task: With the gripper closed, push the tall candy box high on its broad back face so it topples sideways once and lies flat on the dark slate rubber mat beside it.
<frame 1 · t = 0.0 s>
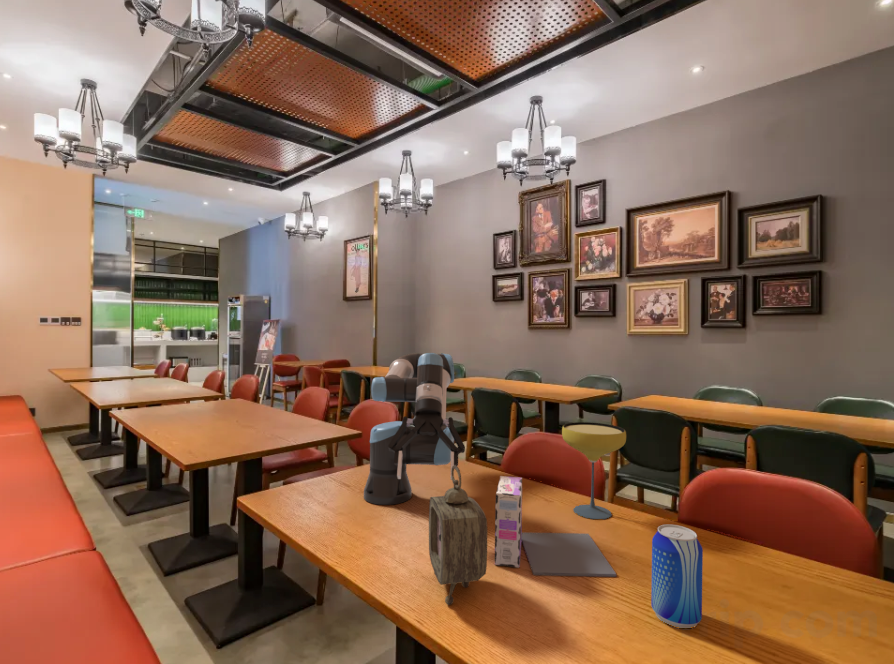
hand: (425, 477, 117), 15 cm above the table, tool tilted 35°, fingers open, 13 cm apart
mat: (563, 553, 109), on the table
candy box: (508, 553, 109), on the table
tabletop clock: (456, 589, 94), on the table
beer can: (675, 618, 85), on the table
cocktail glass: (592, 513, 135), on the table
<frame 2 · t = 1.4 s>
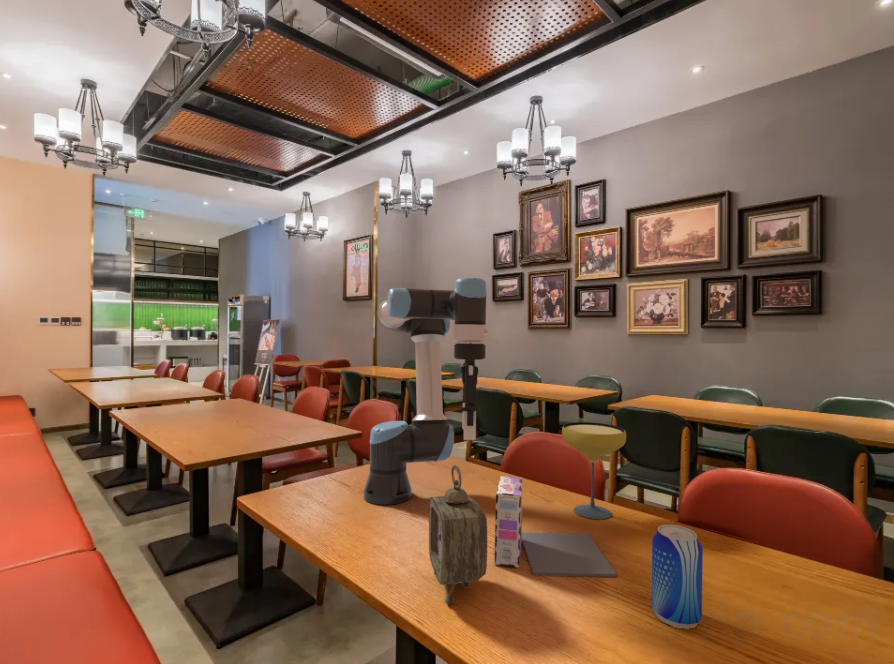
hand: (468, 434, 110), 28 cm above the table, tool pointing down, fingers open, 11 cm apart
nothing on the table moved.
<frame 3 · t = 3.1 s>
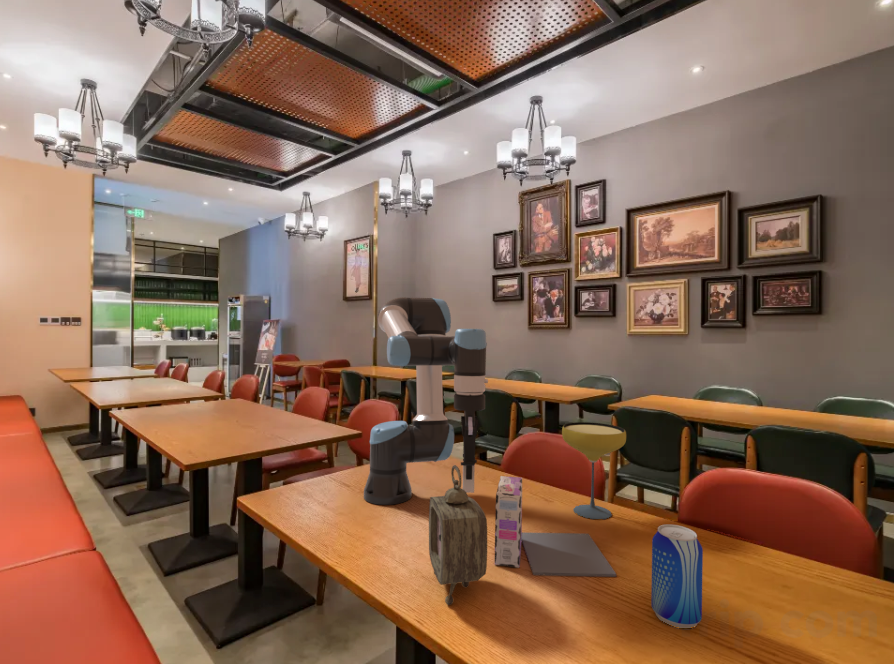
hand: (468, 491, 109), 15 cm above the table, tool pointing down, fingers closed
nothing on the table moved.
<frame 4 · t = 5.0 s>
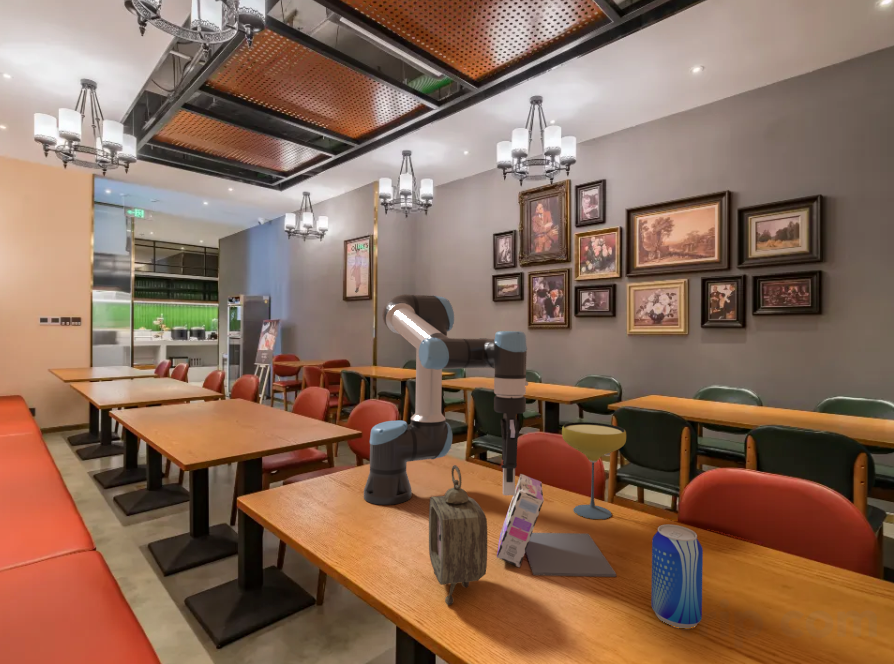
hand: (508, 494, 109), 14 cm above the table, tool pointing down, fingers closed
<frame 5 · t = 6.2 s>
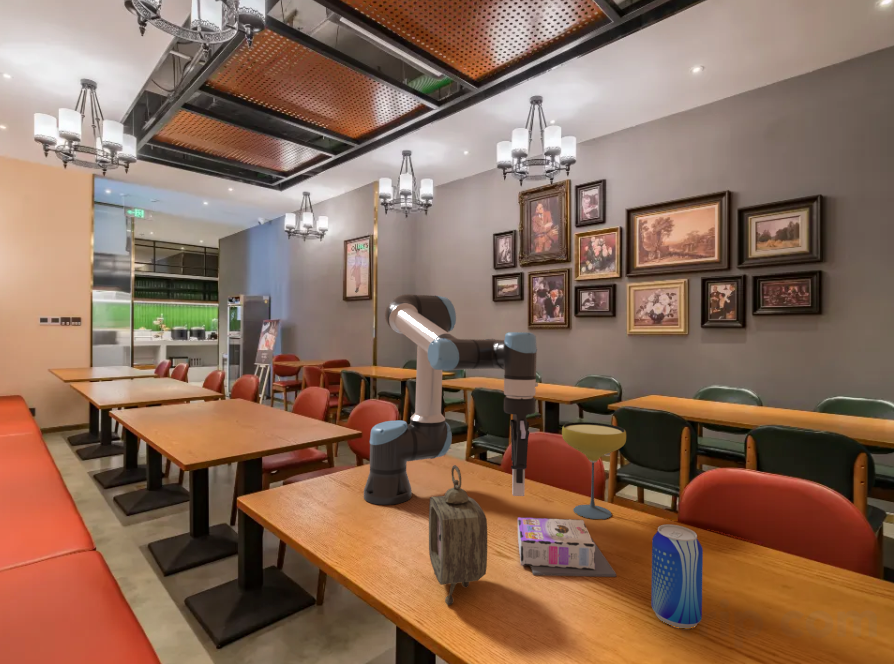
hand: (518, 494, 109), 14 cm above the table, tool pointing down, fingers closed
candy box: (517, 539, 109), point 3 cm above the table, touching mat
everything else where it was.
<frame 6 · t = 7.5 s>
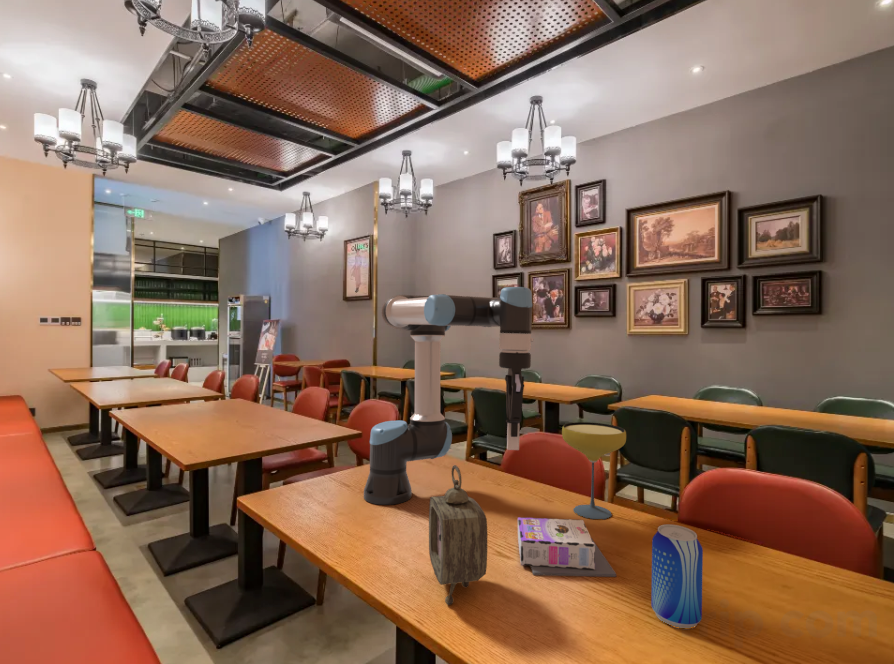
hand: (512, 449, 110), 25 cm above the table, tool pointing down, fingers closed
nothing on the table moved.
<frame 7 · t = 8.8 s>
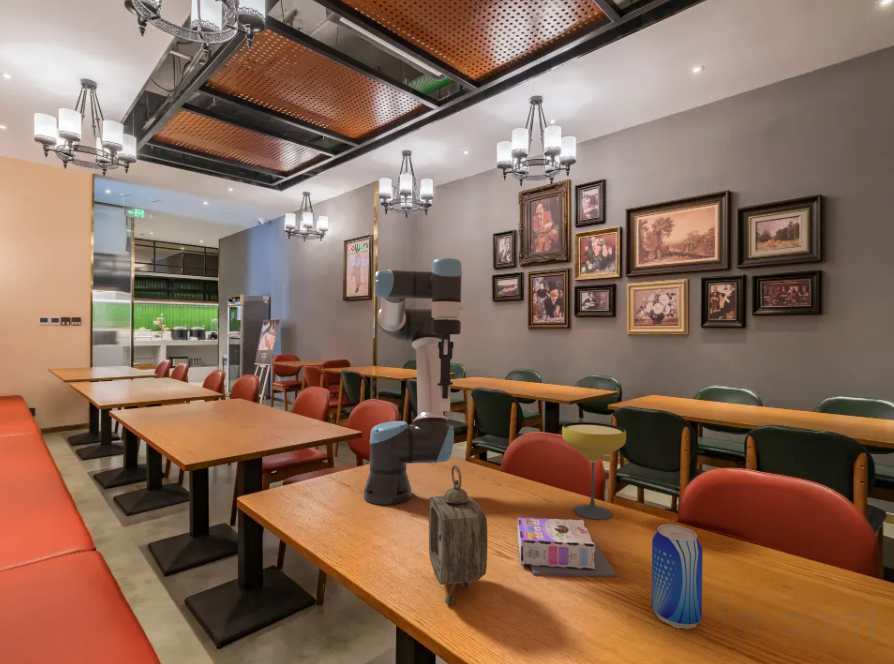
hand: (444, 410, 118), 32 cm above the table, tool pointing down, fingers closed
nothing on the table moved.
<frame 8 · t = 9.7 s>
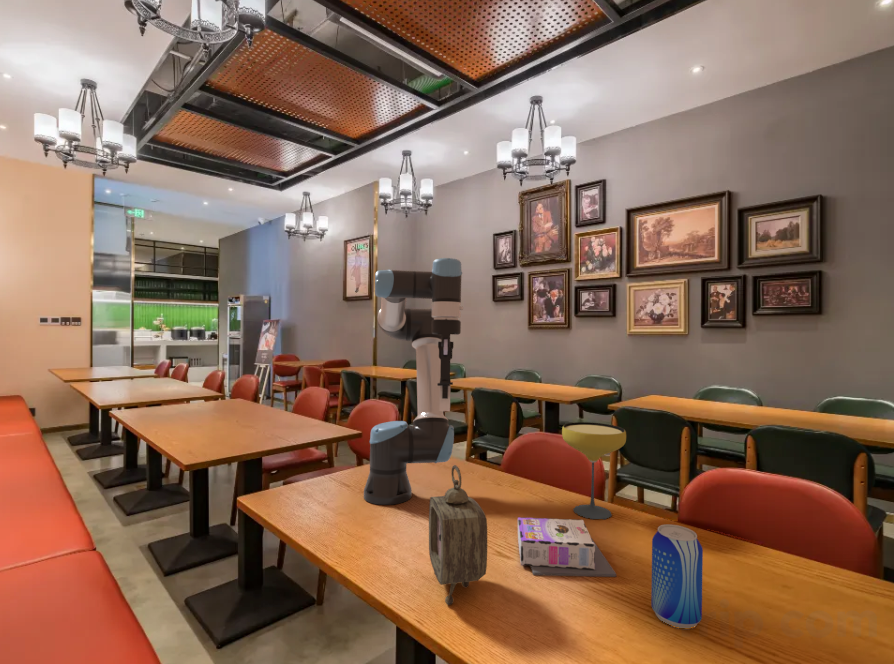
hand: (444, 410, 118), 32 cm above the table, tool pointing down, fingers closed
nothing on the table moved.
at the end: candy box tilted 89°; candy box touching mat; candy box inside the target area (1.6 cm from its centre), point 3.4 cm above the table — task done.
